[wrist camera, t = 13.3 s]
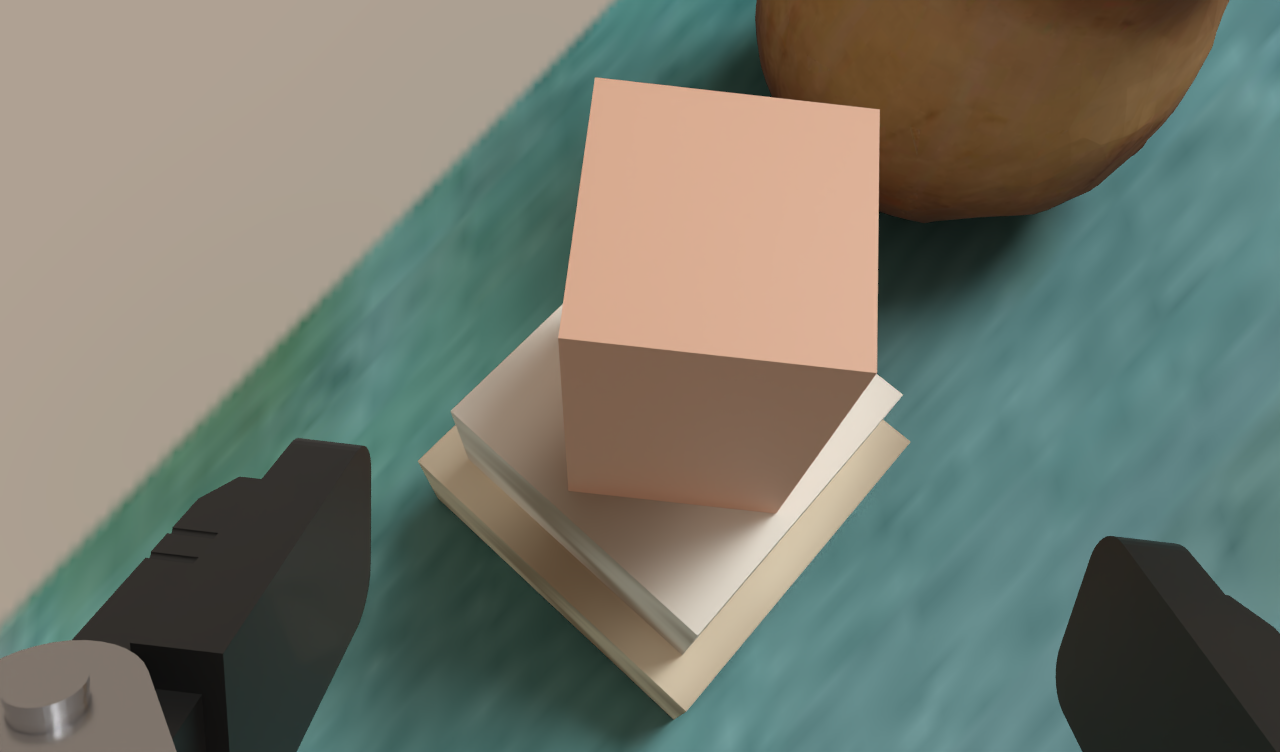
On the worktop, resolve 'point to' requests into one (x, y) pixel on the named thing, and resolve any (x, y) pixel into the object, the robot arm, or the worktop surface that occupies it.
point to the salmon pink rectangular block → (716, 292)
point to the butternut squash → (991, 89)
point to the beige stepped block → (641, 526)
